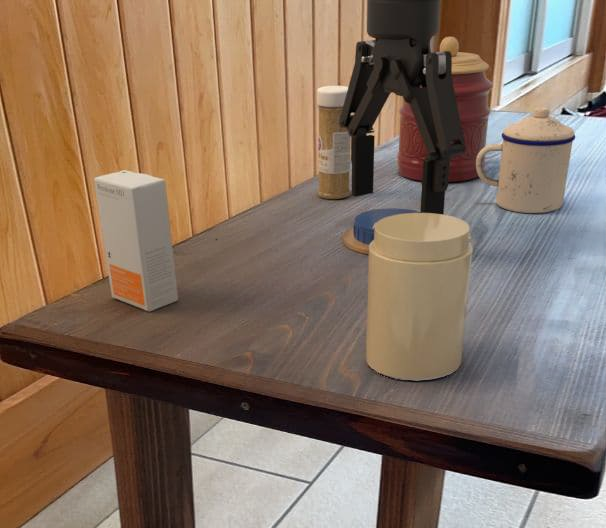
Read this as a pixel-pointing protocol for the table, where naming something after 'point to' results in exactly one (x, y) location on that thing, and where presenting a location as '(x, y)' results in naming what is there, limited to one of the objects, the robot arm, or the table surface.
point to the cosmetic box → (137, 238)
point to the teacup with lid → (532, 163)
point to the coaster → (354, 242)
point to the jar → (417, 294)
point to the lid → (373, 222)
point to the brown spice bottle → (333, 144)
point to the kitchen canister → (472, 114)
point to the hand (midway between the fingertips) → (395, 207)
